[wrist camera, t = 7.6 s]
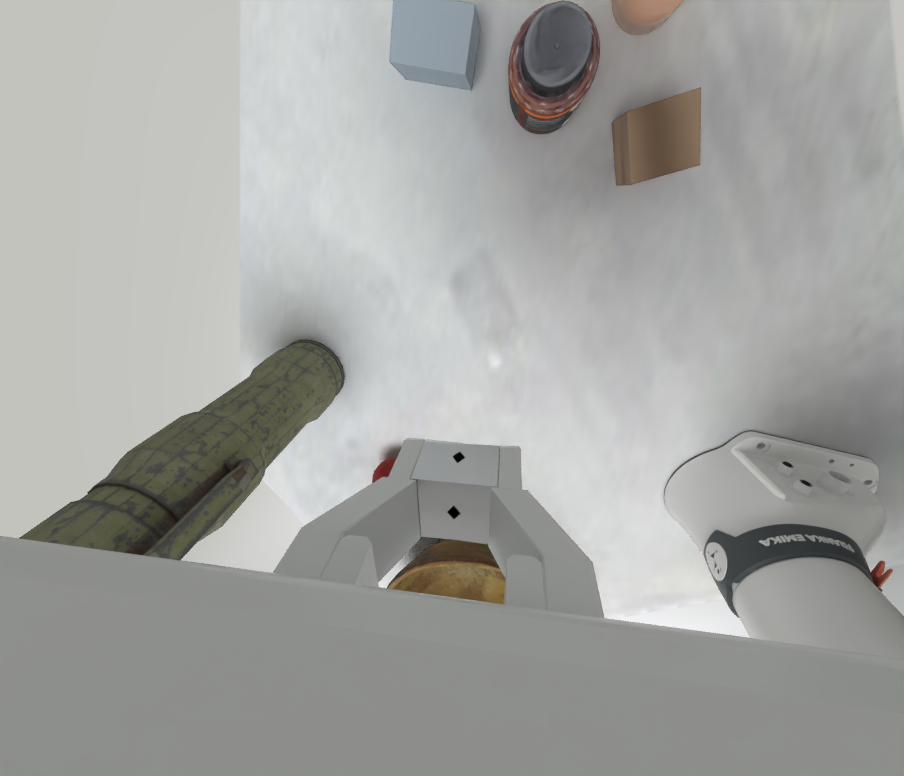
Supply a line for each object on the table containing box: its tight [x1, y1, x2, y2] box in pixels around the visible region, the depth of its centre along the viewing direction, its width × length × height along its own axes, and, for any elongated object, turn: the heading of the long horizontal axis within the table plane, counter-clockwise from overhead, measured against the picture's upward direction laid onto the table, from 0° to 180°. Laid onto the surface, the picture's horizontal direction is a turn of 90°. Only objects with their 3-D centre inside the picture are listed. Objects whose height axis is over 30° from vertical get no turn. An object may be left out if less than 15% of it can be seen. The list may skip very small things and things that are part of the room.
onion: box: [372, 458, 397, 483], centre depth 50 cm, size 6×6×8 cm
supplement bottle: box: [508, 1, 600, 134], centre depth 27 cm, size 6×6×11 cm
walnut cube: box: [612, 87, 701, 186], centre depth 31 cm, size 5×5×5 cm
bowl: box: [387, 539, 505, 604], centre depth 56 cm, size 22×23×10 cm
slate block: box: [389, 0, 480, 91], centre depth 30 cm, size 6×4×5 cm, turn 81°
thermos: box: [19, 340, 345, 560], centre depth 33 cm, size 9×12×35 cm
